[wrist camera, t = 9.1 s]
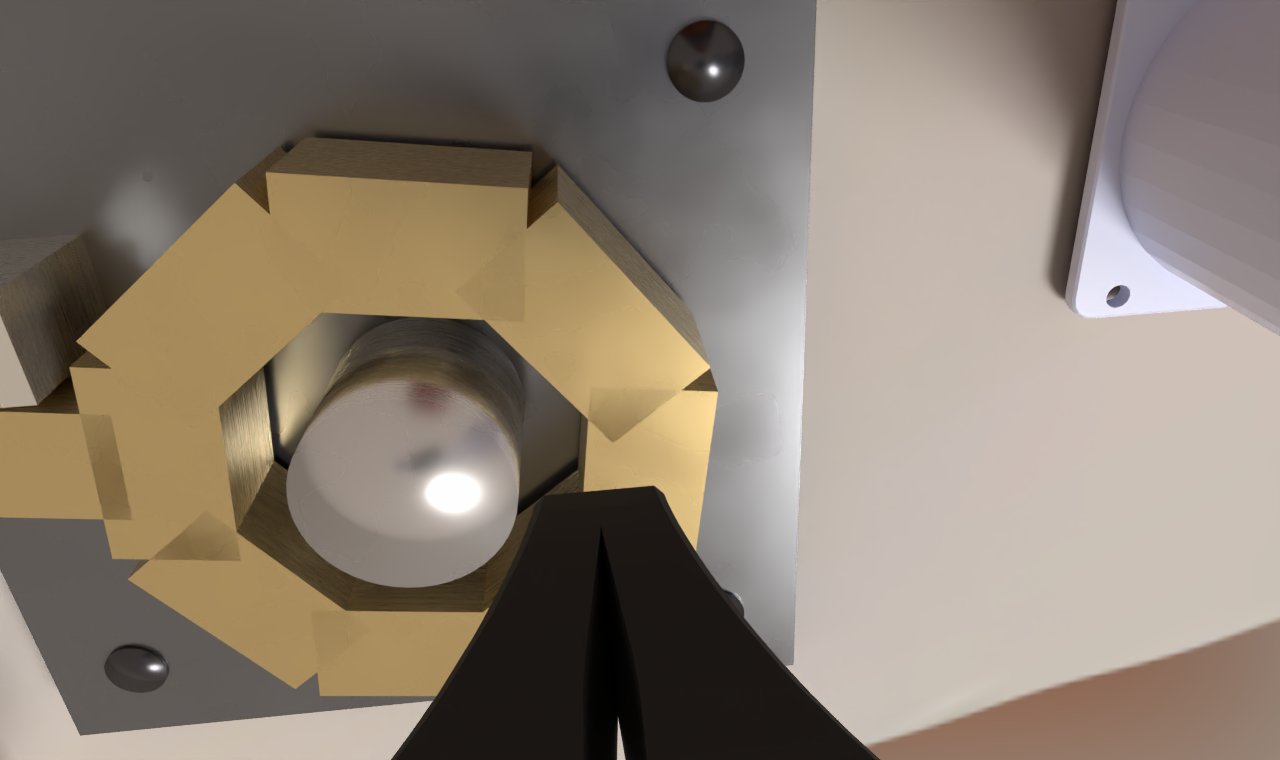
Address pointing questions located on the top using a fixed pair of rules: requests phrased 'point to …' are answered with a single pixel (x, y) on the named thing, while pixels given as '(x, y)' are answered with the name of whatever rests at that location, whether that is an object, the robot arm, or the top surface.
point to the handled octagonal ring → (351, 284)
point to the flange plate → (400, 345)
